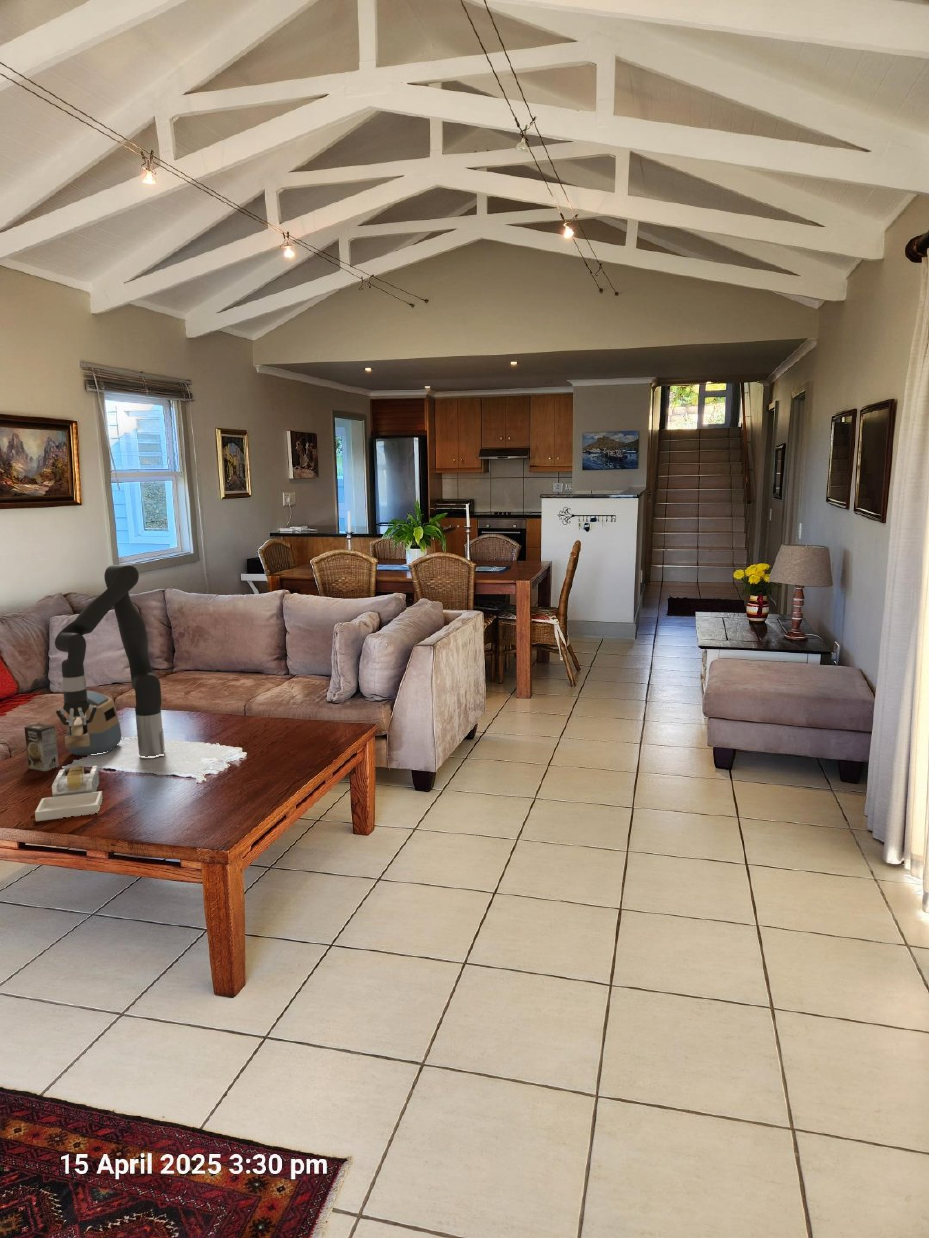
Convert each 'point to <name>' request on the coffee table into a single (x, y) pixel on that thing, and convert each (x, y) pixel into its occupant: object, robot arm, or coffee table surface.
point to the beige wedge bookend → (77, 736)
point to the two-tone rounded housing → (99, 726)
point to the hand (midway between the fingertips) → (79, 734)
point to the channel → (87, 786)
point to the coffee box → (41, 746)
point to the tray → (68, 806)
